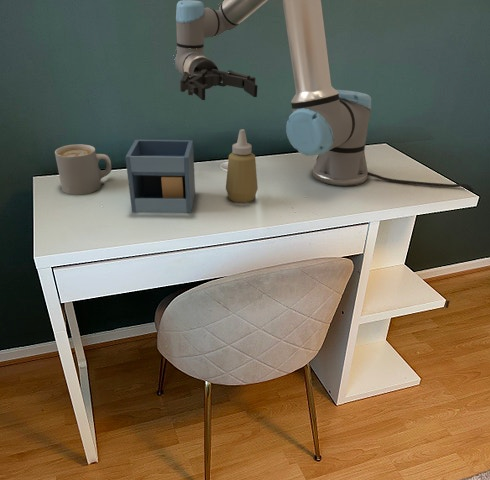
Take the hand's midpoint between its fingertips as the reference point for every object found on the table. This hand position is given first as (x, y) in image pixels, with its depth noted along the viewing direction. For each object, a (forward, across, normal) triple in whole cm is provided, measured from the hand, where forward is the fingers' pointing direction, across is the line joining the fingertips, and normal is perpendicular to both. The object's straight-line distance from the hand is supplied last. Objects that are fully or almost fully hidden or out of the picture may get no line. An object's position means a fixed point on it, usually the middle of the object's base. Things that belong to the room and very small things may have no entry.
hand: (230, 92), depth 121 cm
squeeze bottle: (+10, 0, -24) cm, 26 cm away
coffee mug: (-13, +34, -26) cm, 45 cm away
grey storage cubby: (+6, +19, -25) cm, 32 cm away
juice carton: (+7, +16, -24) cm, 30 cm away
